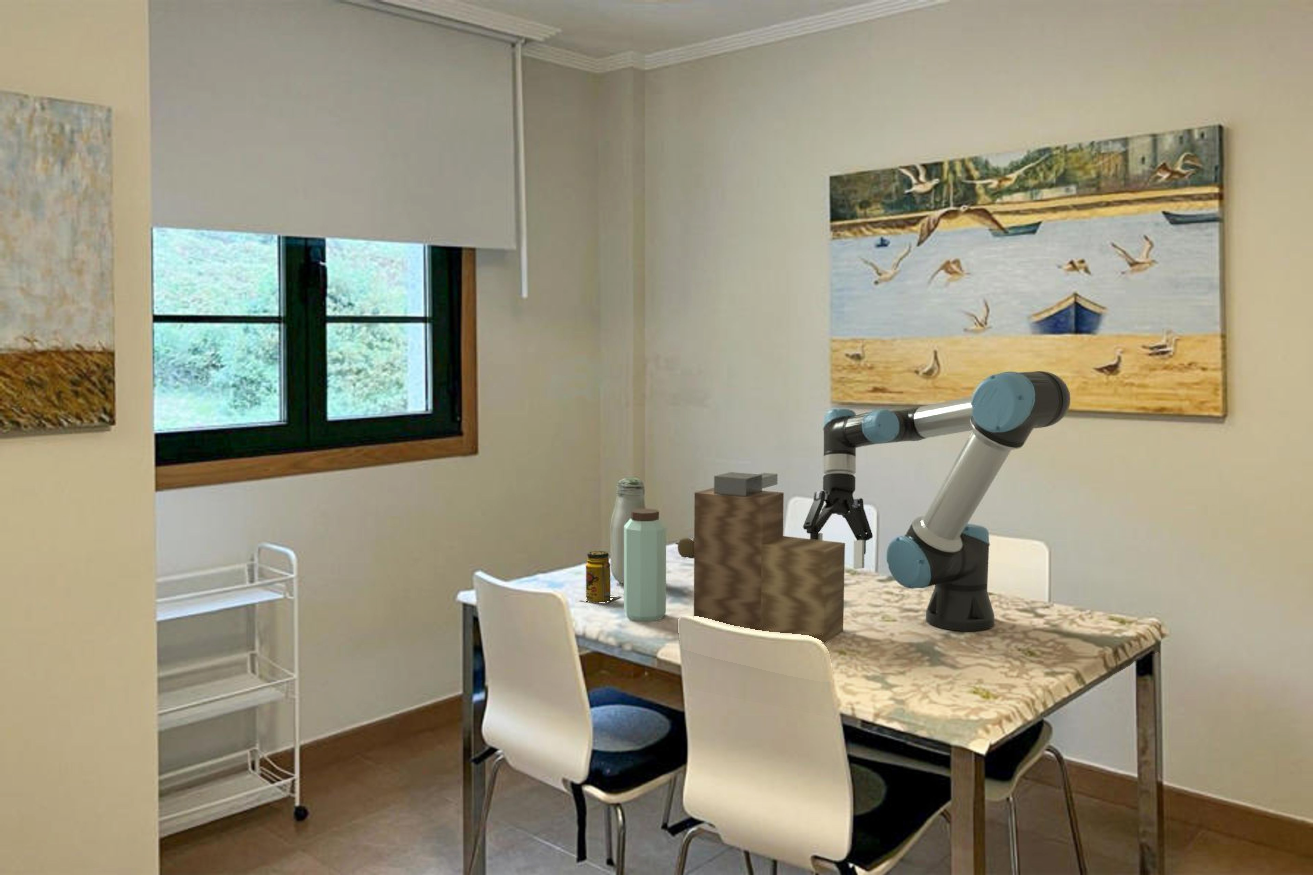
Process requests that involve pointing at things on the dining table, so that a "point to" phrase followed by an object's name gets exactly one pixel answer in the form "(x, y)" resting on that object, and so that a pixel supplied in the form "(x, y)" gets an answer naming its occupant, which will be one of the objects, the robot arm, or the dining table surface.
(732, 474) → the grey t-shaped block
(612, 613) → the dining table surface
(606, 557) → the condiment
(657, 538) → the water bottle
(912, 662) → the dining table surface
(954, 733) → the dining table surface
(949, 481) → the robot arm
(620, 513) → the glass bottle
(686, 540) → the kendama
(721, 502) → the stepped stand
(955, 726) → the dining table surface
